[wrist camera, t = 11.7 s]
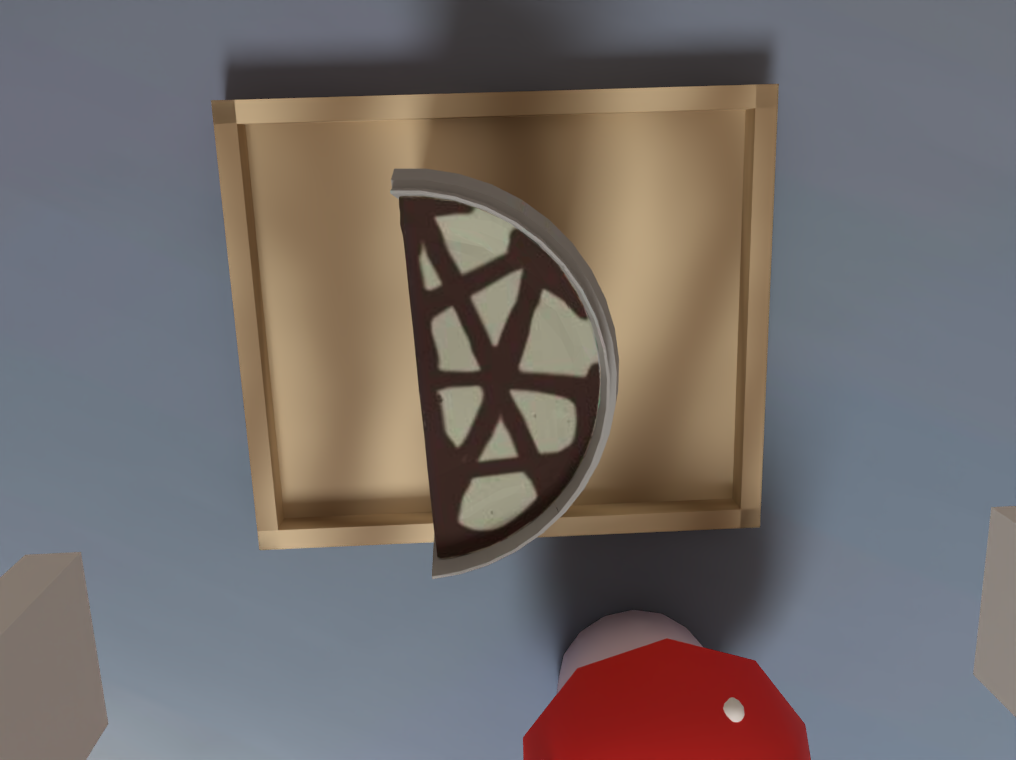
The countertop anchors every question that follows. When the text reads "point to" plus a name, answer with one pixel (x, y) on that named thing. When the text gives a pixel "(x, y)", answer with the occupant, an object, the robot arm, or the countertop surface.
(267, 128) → the tray
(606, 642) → the mushroom
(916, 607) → the countertop surface
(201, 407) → the countertop surface
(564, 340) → the brown white half-round block
